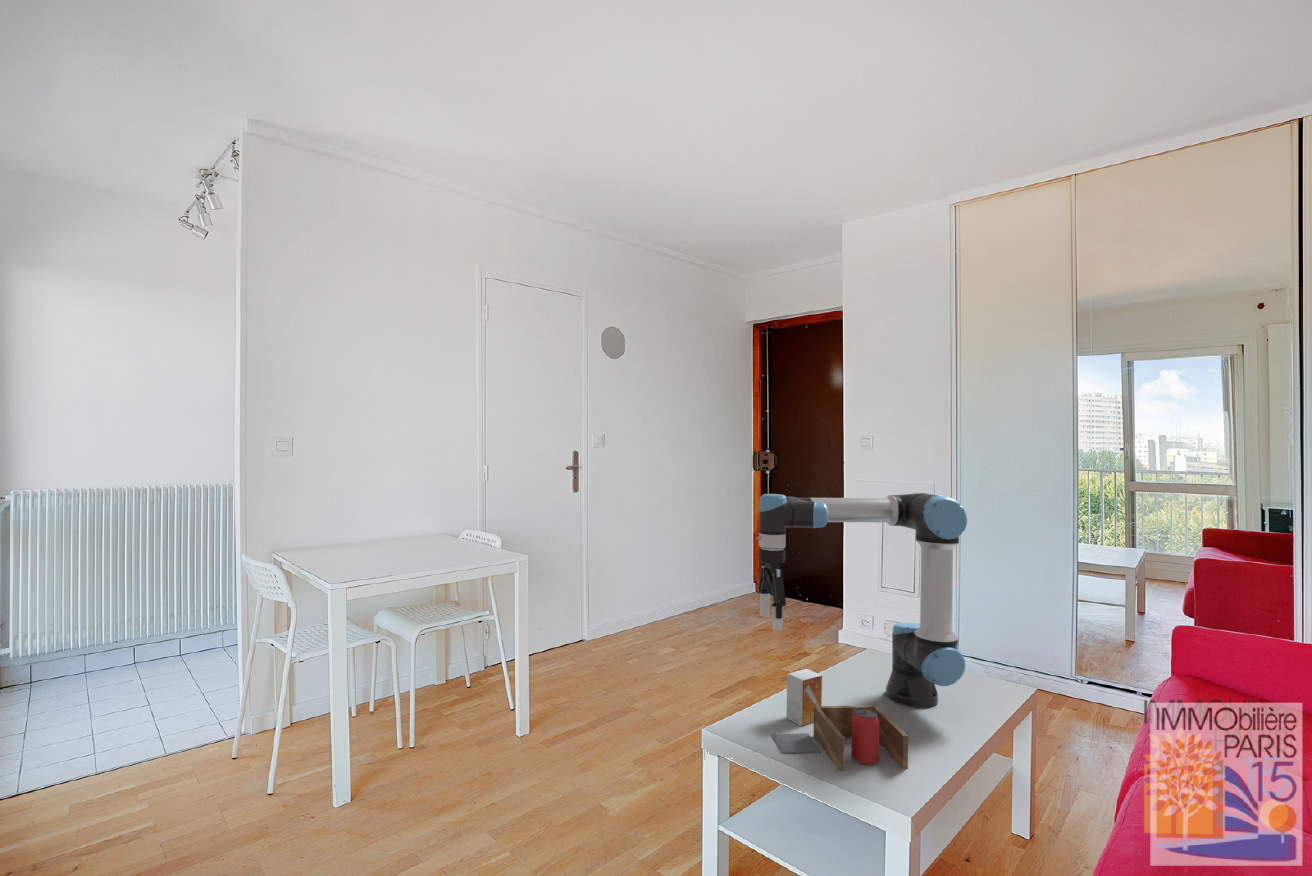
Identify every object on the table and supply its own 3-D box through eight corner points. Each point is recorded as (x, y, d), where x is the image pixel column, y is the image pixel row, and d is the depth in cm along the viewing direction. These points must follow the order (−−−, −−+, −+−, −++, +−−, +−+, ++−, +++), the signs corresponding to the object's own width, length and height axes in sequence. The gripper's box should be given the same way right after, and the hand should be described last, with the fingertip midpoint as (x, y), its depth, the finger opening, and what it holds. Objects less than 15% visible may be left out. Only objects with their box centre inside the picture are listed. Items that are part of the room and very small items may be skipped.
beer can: (847, 753, 162) (847, 706, 162) (872, 752, 163) (872, 706, 163) (857, 766, 155) (858, 717, 155) (883, 765, 156) (883, 717, 156)
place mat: (808, 734, 172) (808, 733, 172) (820, 752, 162) (820, 751, 162) (772, 735, 171) (772, 734, 171) (782, 753, 161) (782, 752, 161)
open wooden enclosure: (875, 734, 173) (875, 705, 173) (907, 768, 155) (908, 735, 155) (813, 736, 171) (814, 706, 171) (838, 770, 153) (839, 737, 153)
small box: (802, 726, 177) (802, 680, 177) (785, 718, 182) (786, 673, 182) (822, 720, 181) (822, 674, 181) (805, 712, 187) (806, 668, 187)
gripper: (748, 541, 193) (747, 610, 193) (770, 556, 168) (769, 636, 168) (772, 541, 193) (771, 610, 193) (798, 556, 169) (797, 635, 168)
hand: (770, 622), depth 181 cm, fingers open, 13 cm apart
